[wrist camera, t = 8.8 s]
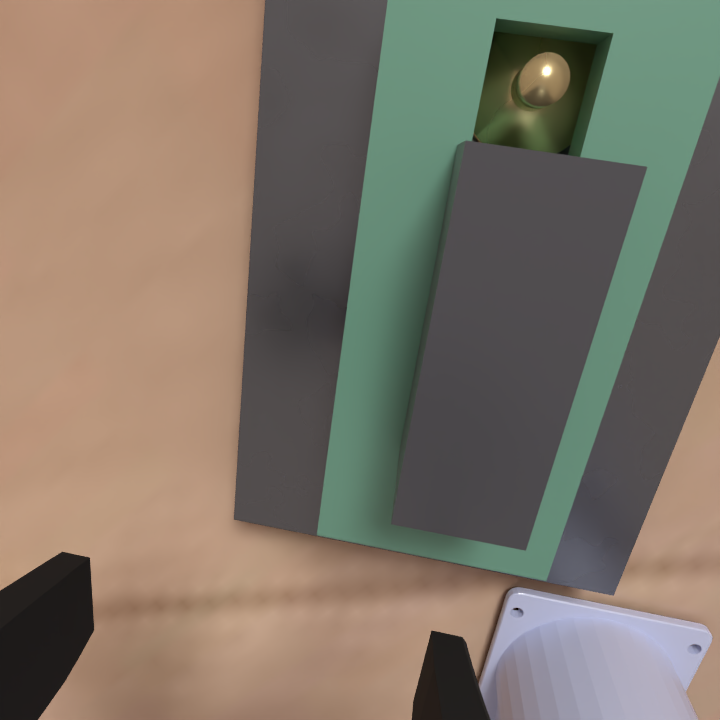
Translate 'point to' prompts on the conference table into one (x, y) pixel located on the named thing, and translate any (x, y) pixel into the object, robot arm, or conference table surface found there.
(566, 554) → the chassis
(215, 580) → the conference table surface
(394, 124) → the board
